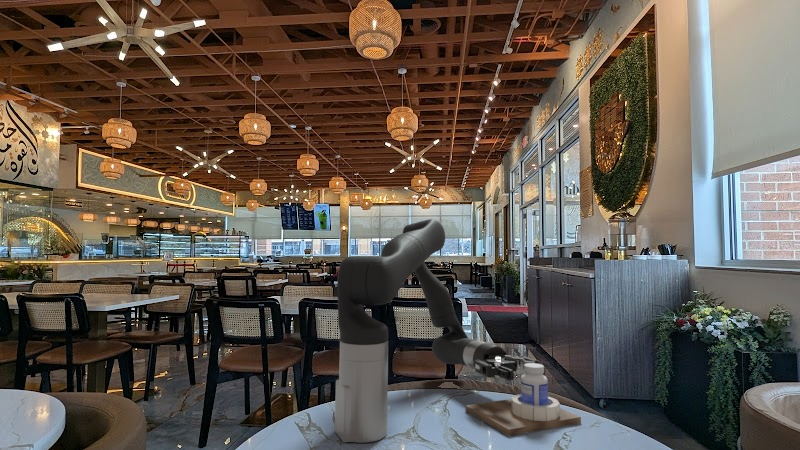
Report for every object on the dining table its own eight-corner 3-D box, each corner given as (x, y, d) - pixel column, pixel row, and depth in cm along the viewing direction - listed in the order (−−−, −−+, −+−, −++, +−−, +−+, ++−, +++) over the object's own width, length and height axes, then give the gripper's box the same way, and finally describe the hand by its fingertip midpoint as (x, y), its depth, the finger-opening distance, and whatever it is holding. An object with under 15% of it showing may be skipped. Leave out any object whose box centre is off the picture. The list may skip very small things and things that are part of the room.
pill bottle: (545, 408, 96) (544, 362, 97) (551, 417, 90) (550, 368, 91) (519, 407, 96) (518, 361, 97) (523, 416, 91) (523, 367, 92)
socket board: (509, 436, 84) (509, 429, 84) (465, 411, 97) (465, 405, 97) (580, 423, 91) (580, 416, 91) (531, 401, 105) (531, 396, 105)
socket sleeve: (532, 423, 87) (532, 410, 87) (502, 408, 96) (502, 396, 96) (569, 417, 91) (569, 404, 91) (537, 403, 99) (537, 391, 100)
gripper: (460, 344, 108) (501, 358, 93) (508, 340, 114) (553, 353, 99) (459, 376, 107) (501, 395, 93) (508, 371, 113) (554, 388, 98)
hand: (528, 373), depth 96 cm, fingers open, 8 cm apart
